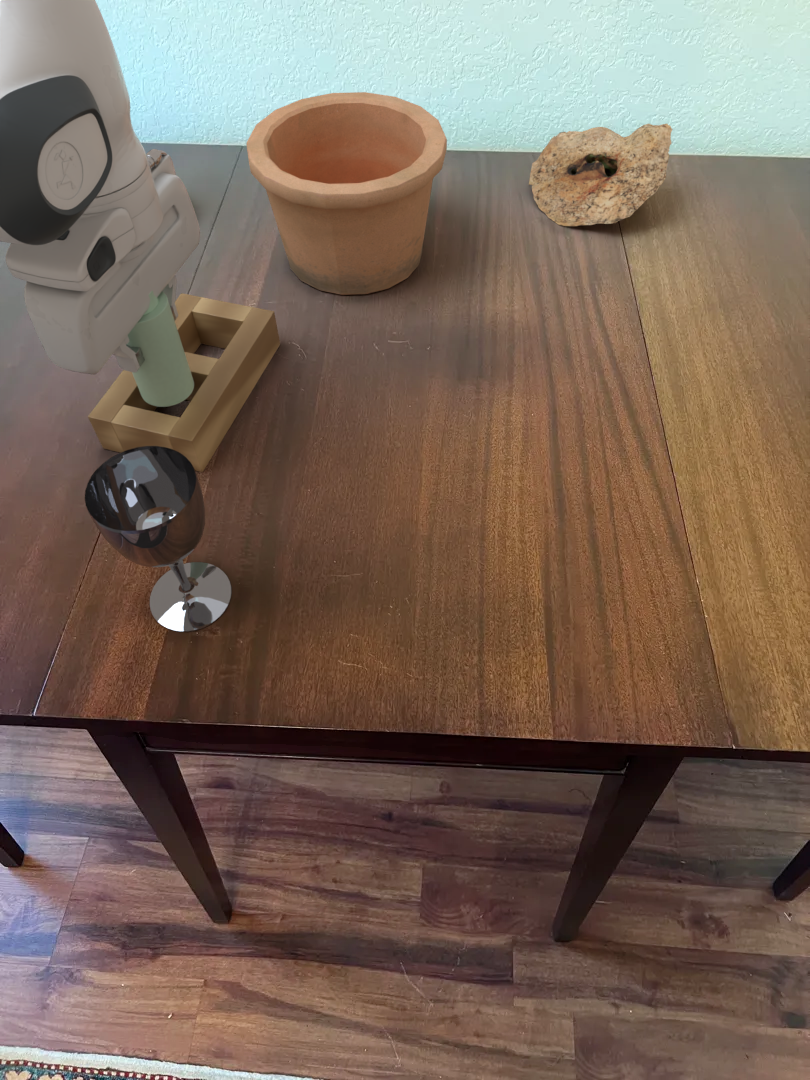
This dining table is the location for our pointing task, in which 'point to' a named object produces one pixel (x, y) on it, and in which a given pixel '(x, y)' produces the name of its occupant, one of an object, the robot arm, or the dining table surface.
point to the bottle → (161, 356)
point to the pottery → (349, 186)
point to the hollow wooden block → (216, 382)
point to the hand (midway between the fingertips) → (150, 343)
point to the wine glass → (160, 531)
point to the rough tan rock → (599, 174)
